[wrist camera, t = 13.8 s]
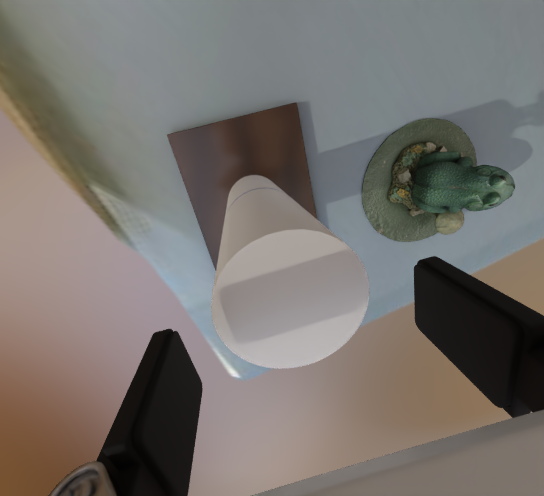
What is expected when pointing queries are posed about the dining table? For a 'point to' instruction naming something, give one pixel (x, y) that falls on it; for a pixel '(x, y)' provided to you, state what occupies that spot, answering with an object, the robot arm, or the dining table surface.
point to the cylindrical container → (283, 280)
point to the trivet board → (241, 163)
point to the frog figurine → (429, 182)
